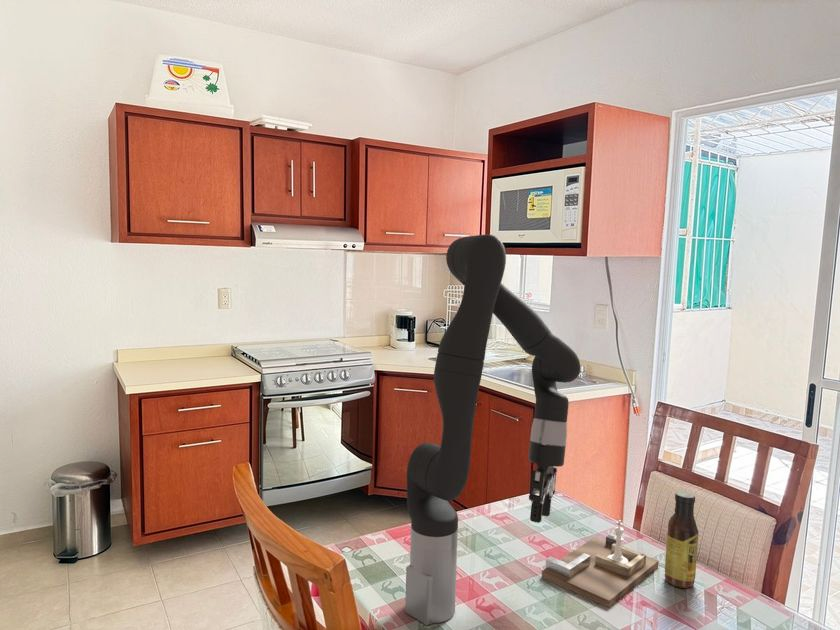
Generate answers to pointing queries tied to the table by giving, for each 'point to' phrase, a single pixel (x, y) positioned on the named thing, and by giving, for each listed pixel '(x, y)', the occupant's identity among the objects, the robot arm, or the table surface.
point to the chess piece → (618, 545)
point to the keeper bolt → (568, 565)
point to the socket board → (604, 571)
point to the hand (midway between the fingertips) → (539, 518)
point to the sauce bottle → (682, 543)
